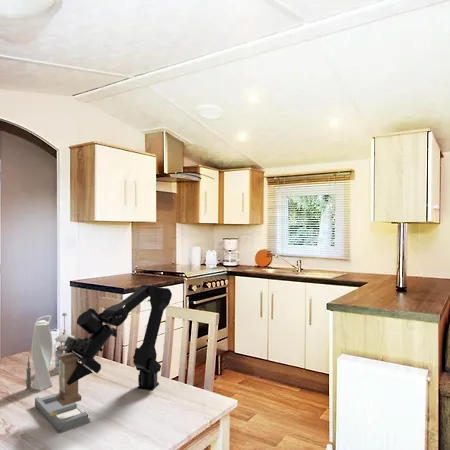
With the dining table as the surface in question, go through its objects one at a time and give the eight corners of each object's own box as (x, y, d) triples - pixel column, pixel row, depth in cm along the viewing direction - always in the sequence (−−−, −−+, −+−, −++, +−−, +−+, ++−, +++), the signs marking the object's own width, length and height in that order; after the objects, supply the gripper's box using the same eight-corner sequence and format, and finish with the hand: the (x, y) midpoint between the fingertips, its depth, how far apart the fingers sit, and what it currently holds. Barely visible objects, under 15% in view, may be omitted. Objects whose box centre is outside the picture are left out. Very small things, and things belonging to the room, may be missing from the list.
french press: (53, 374, 168) (53, 316, 168) (51, 366, 179) (51, 311, 179) (78, 370, 173) (77, 313, 173) (74, 362, 183) (74, 308, 183)
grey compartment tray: (33, 406, 139) (33, 396, 139) (63, 397, 145) (63, 388, 145) (56, 433, 121) (56, 421, 121) (89, 422, 127) (89, 410, 127)
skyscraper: (43, 382, 161) (42, 313, 161) (57, 385, 157) (57, 315, 157) (25, 390, 153) (24, 318, 153) (39, 394, 150) (39, 320, 150)
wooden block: (56, 399, 130) (55, 356, 130) (74, 394, 134) (74, 351, 134) (62, 406, 125) (62, 360, 125) (81, 400, 129) (80, 356, 129)
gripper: (69, 322, 139) (37, 360, 132) (91, 332, 125) (55, 376, 118) (91, 339, 144) (61, 377, 137) (114, 352, 130) (82, 395, 123)
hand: (64, 381), depth 129 cm, fingers closed on wooden block, 6 cm apart
